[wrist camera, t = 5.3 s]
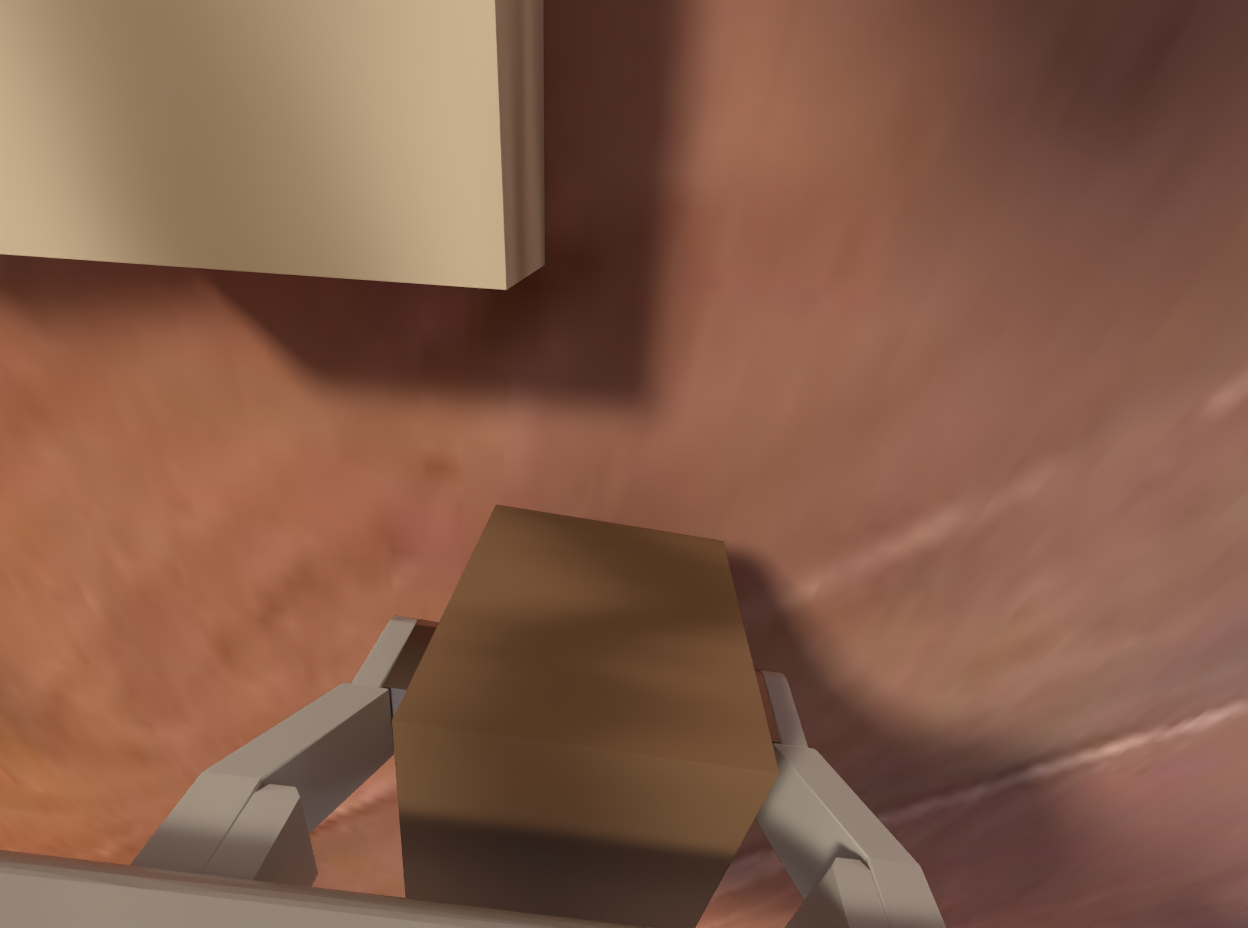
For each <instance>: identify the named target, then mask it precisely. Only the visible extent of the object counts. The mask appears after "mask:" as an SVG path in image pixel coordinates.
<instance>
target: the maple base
mask: <svg viewBox="0 0 1248 928" xmlns="http://www.w3.org/2000/svg"><path fill="white" fill-rule="evenodd" d="M0 254H6V255H20V256H35V257H49V258H63V259H77V260H91V261H105V262H119V263H133V264H147V265H162V266H176V267H190V268H204V269H218V270H232V271H246V272H260V273H275V274H289V275H303V276H317V277H331V278H345V279H359V280H373V281H387V282H402V283H416V284H430V285H444V286H458V287H472V288H486V289H500V290H507V289H509V288H510V287H512V286H513V285H515V284H516V283H518V282H519V281H521V280H522V279H524V278H526V277H527V276H529V275H530V274H532V273H533V272H535V271H536V270H538V269H539V268H541V267H542V266H544V265H545V198H544V44H543V0H0Z"/></svg>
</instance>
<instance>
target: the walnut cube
mask: <svg viewBox="0 0 1248 928" xmlns="http://www.w3.org/2000/svg"><path fill="white" fill-rule="evenodd" d="M392 729H393V742H394V754H395V767H396V780H397V793H398V805H399V818H400V831H401V844H402V857H403V869H404V882H405V895H406V898H409V899H418V900H426V901H434V902H443V903H451V904H460V905H468V906H476V907H485V908H493V909H501V910H510V911H518V912H526V913H535V914H543V915H551V916H560V917H568V918H576V919H585V920H593V921H601V922H610V923H618V924H626V925H635V926H643V927H651V928H695V927H696V925H697V923H698V921H699V920H700V918H701V916H702V914H703V912H704V910H705V909H706V907H707V905H708V903H709V901H710V900H711V898H712V896H713V894H714V892H715V890H716V889H717V887H718V885H719V883H720V881H721V879H722V878H723V876H724V874H725V872H726V870H727V868H728V867H729V865H730V863H731V861H732V859H733V858H734V856H735V854H736V852H737V850H738V848H739V847H740V845H741V843H742V841H743V839H744V837H745V836H746V834H747V832H748V830H749V828H750V826H751V825H752V823H753V821H754V819H755V817H756V816H757V814H758V812H759V810H760V808H761V806H762V805H763V803H764V801H765V799H766V797H767V795H768V794H769V792H770V790H771V788H772V786H773V784H774V783H775V781H776V779H777V777H778V775H779V774H780V773H779V769H778V765H777V761H776V757H775V753H774V748H773V744H772V740H771V736H770V732H769V728H768V724H767V719H766V715H765V711H764V707H763V703H762V699H761V695H760V690H759V686H758V682H757V678H756V674H755V670H754V666H753V662H752V657H751V653H750V649H749V645H748V641H747V637H746V633H745V628H744V624H743V620H742V616H741V612H740V608H739V604H738V599H737V595H736V591H735V587H734V583H733V579H732V575H731V570H730V566H729V562H728V558H727V554H726V550H725V546H724V542H723V541H720V540H714V539H707V538H701V537H695V536H689V535H682V534H676V533H670V532H664V531H658V530H651V529H645V528H639V527H633V526H626V525H620V524H614V523H608V522H602V521H595V520H589V519H583V518H577V517H570V516H564V515H558V514H552V513H546V512H539V511H533V510H527V509H521V508H514V507H508V506H502V505H496V506H495V508H494V510H493V512H492V514H491V516H490V518H489V520H488V522H487V524H486V527H485V529H484V531H483V533H482V535H481V537H480V539H479V541H478V543H477V545H476V547H475V549H474V551H473V553H472V556H471V558H470V560H469V562H468V564H467V566H466V568H465V570H464V572H463V574H462V576H461V578H460V580H459V582H458V585H457V587H456V589H455V591H454V593H453V595H452V597H451V599H450V601H449V603H448V605H447V607H446V609H445V611H444V614H443V616H442V618H441V620H440V622H439V624H438V626H437V628H436V630H435V632H434V634H433V636H432V638H431V640H430V643H429V645H428V647H427V649H426V651H425V653H424V655H423V657H422V659H421V661H420V663H419V665H418V667H417V669H416V672H415V674H414V676H413V678H412V680H411V682H410V684H409V686H408V688H407V690H406V692H405V694H404V696H403V698H402V701H401V703H400V705H399V707H398V709H397V711H396V713H395V715H394V717H393V719H392Z"/></svg>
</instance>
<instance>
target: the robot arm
mask: <svg viewBox="0 0 1248 928" xmlns="http://www.w3.org/2000/svg"><path fill="white" fill-rule="evenodd" d="M438 624H439V622H434V621H428V620H422V619H415V618H409V617H403V616H397V615H395V616H394V617H393V618H392V619H391V620H390V621H389V622H388V624H387V625H386V627H385V629H384V630H383V632H382V633H381V635H380V637H379V638H378V640H377V642H376V643H375V645H374V647H373V648H372V650H371V651H370V653H369V655H368V656H367V658H366V660H365V661H364V663H363V665H362V666H361V668H360V670H359V671H358V673H357V674H356V676H355V678H354V679H353V681H352V683H342V684H340V685H338V686H337V687H335V688H334V689H332V690H331V691H329V692H327V693H326V694H324V695H323V696H321V697H320V698H318V699H316V700H315V701H313V702H312V703H310V704H309V705H307V706H305V707H304V708H302V709H301V710H299V711H298V712H296V713H294V714H293V715H291V716H290V717H288V718H287V719H285V720H283V721H282V722H280V723H279V724H277V725H275V726H274V727H272V728H271V729H269V730H268V731H266V732H264V733H263V734H261V735H260V736H258V737H257V738H255V739H253V740H252V741H250V742H249V743H247V744H246V745H244V746H242V747H241V748H239V749H238V750H236V751H235V752H233V753H231V754H230V755H228V756H227V757H225V758H224V759H222V760H220V761H219V762H217V763H216V764H214V765H213V766H211V767H209V768H208V769H206V770H205V771H203V772H202V773H201V774H200V776H199V777H198V778H197V779H196V781H195V782H194V783H193V785H192V786H191V787H190V788H189V790H188V791H187V792H186V794H185V795H184V796H183V797H182V799H181V800H180V801H179V803H178V804H177V805H176V806H175V808H174V809H173V810H172V812H171V813H170V814H169V815H168V817H167V818H166V819H165V820H164V822H163V823H162V824H161V826H160V827H159V828H158V829H157V831H156V832H155V833H154V835H153V836H152V837H151V838H150V840H149V841H148V842H147V844H146V845H145V846H144V847H143V849H142V850H141V851H140V853H139V854H138V855H137V856H136V858H135V859H134V860H133V862H132V863H131V864H130V865H124V864H116V863H107V862H99V861H91V860H82V859H74V858H66V857H57V856H49V855H40V854H32V853H24V852H15V851H7V850H0V928H651V927H643V926H635V925H626V924H618V923H610V922H601V921H593V920H585V919H576V918H568V917H560V916H551V915H543V914H535V913H526V912H518V911H510V910H501V909H493V908H485V907H476V906H468V905H460V904H451V903H443V902H434V901H426V900H418V899H409V898H401V897H393V896H384V895H376V894H367V893H359V892H351V891H342V890H334V889H325V888H317V887H312V885H313V883H314V880H315V878H316V876H317V874H318V871H317V867H316V863H315V858H314V854H313V850H312V846H311V841H310V837H309V833H310V832H311V831H312V830H314V829H315V828H316V827H317V826H318V825H319V824H320V823H321V822H322V821H323V820H324V819H325V818H326V817H327V816H328V815H330V814H331V813H332V812H333V811H334V810H335V809H336V808H337V807H338V806H339V805H340V804H341V803H342V802H343V801H345V800H346V799H347V798H348V797H349V796H350V795H351V794H352V793H353V792H354V791H355V790H356V789H357V788H358V787H359V786H361V785H362V784H363V783H364V782H365V781H366V780H367V779H368V778H369V777H370V776H371V775H372V774H373V773H374V772H376V771H377V770H378V769H379V768H380V767H381V766H382V765H383V764H384V763H385V762H386V761H387V760H388V759H389V758H390V757H392V756H393V755H394V742H393V729H392V719H393V717H394V715H395V713H396V711H397V709H398V707H399V705H400V703H401V701H402V698H403V696H404V694H405V692H406V690H407V688H408V686H409V684H410V682H411V680H412V678H413V676H414V674H415V672H416V669H417V667H418V665H419V663H420V661H421V659H422V657H423V655H424V653H425V651H426V649H427V647H428V645H429V643H430V640H431V638H432V636H433V634H434V632H435V630H436V628H437V626H438ZM754 670H755V674H756V678H757V682H758V686H759V690H760V695H761V699H762V703H763V707H764V711H765V715H766V719H767V724H768V728H769V732H770V736H771V740H772V744H773V748H774V753H775V757H776V761H777V765H778V769H779V773H780V774H779V775H778V777H777V779H776V781H775V783H774V784H773V786H772V788H771V790H770V792H769V794H768V795H767V797H766V799H765V801H764V803H763V805H762V806H761V808H760V810H759V812H758V814H757V816H756V817H755V819H756V821H757V823H758V824H759V826H760V828H761V829H762V831H763V833H764V834H765V836H766V838H767V839H768V841H769V843H770V844H771V846H772V848H773V849H774V851H775V853H776V854H777V856H778V857H779V859H780V861H781V862H782V864H783V866H784V867H785V869H786V871H787V872H788V874H789V876H790V877H791V879H792V881H793V882H794V884H795V886H796V887H797V889H798V891H799V892H800V894H801V896H802V897H803V899H804V902H803V904H802V905H801V906H800V908H799V909H798V910H797V912H796V913H795V914H794V916H793V917H792V919H791V920H790V921H789V923H788V924H787V926H786V927H785V928H946V926H945V924H944V921H943V919H942V916H941V914H940V912H939V909H938V907H937V904H936V902H935V900H934V897H933V895H932V893H931V890H930V888H929V885H928V883H927V881H926V878H925V876H924V873H923V871H922V869H921V866H920V865H919V864H918V863H917V862H916V861H915V860H914V859H913V857H912V856H911V855H910V854H909V853H908V852H907V851H906V850H905V848H904V847H903V846H902V845H901V844H900V843H899V842H898V841H897V840H896V838H895V837H894V836H893V835H892V834H891V833H890V832H889V831H888V829H887V828H886V827H885V826H884V825H883V824H882V823H881V822H880V821H879V819H878V818H877V817H876V816H875V815H874V814H873V813H872V812H871V810H870V809H869V808H868V807H867V806H866V805H865V804H864V803H863V801H862V800H861V799H860V798H859V797H858V796H857V795H856V794H855V793H854V791H853V790H852V789H851V788H850V787H849V786H848V785H847V784H846V782H845V781H844V780H843V779H842V778H841V777H840V776H839V775H838V774H837V772H836V771H835V770H834V769H833V768H832V767H831V766H830V765H829V763H828V762H827V761H826V760H825V759H824V758H823V757H822V756H821V755H820V753H819V752H818V751H817V750H816V749H812V748H808V745H807V742H806V738H805V735H804V732H803V729H802V726H801V722H800V719H799V716H798V713H797V710H796V706H795V703H794V700H793V697H792V694H791V691H790V687H789V684H788V681H787V678H786V677H785V675H784V674H783V673H778V672H771V671H764V670H757V669H754Z"/></svg>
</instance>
